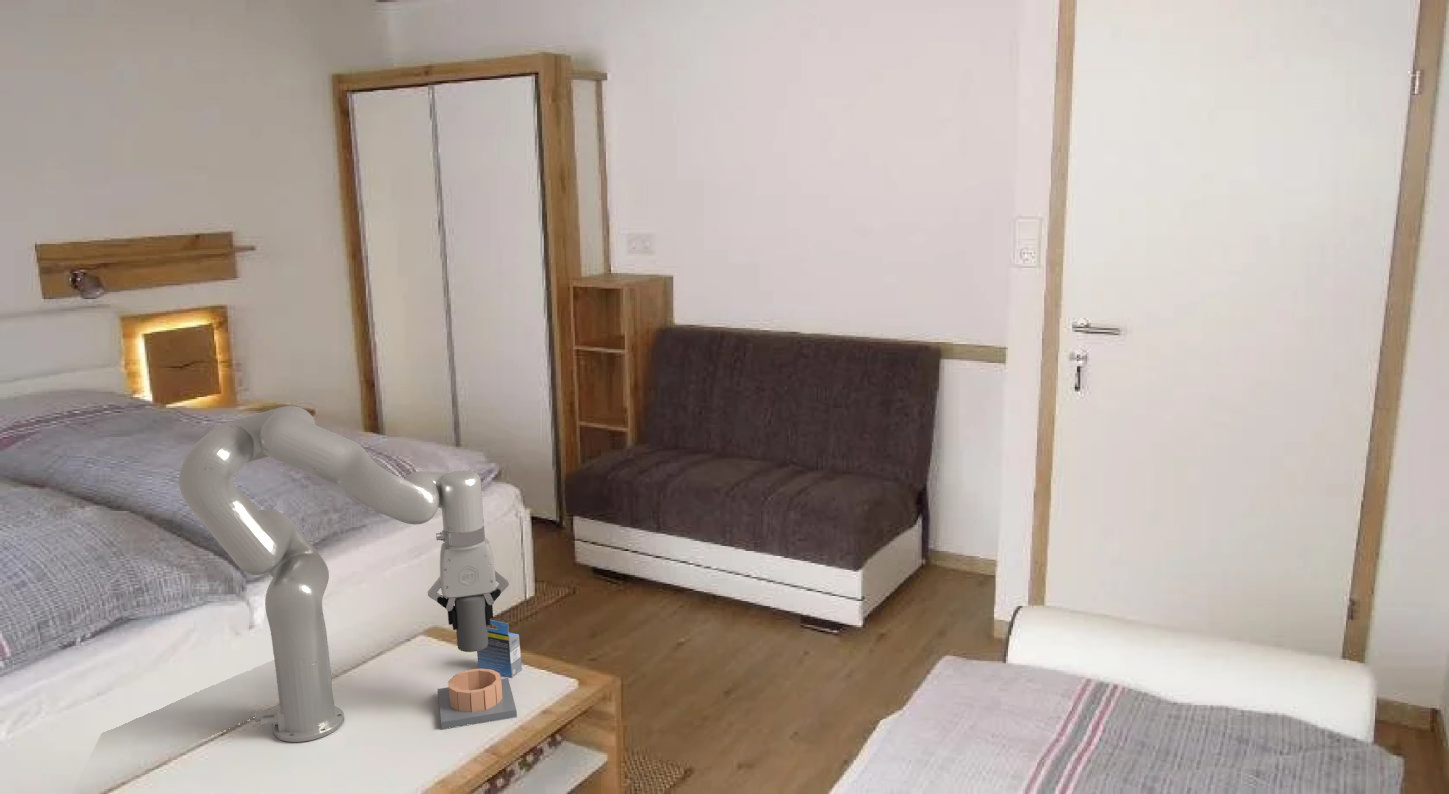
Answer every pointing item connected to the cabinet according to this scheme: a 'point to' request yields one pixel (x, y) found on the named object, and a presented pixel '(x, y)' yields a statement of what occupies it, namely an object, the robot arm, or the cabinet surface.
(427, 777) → the cabinet surface
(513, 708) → the holder
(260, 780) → the cabinet surface
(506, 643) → the label tape box
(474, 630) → the bottle
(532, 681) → the cabinet surface
